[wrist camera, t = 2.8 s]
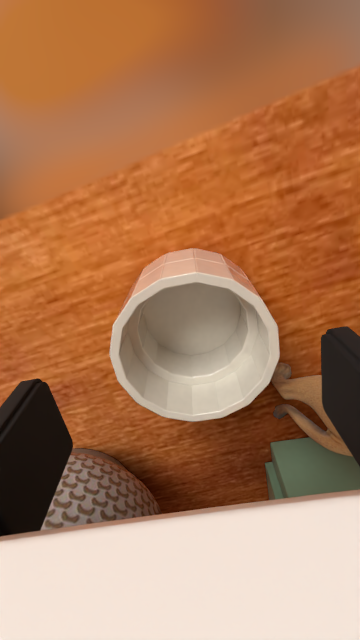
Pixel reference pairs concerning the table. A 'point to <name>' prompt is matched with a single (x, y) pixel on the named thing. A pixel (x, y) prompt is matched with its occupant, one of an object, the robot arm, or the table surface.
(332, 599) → the robot arm
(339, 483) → the stand
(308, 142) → the table surface
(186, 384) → the bowl
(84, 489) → the planter
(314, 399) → the lion figurine
